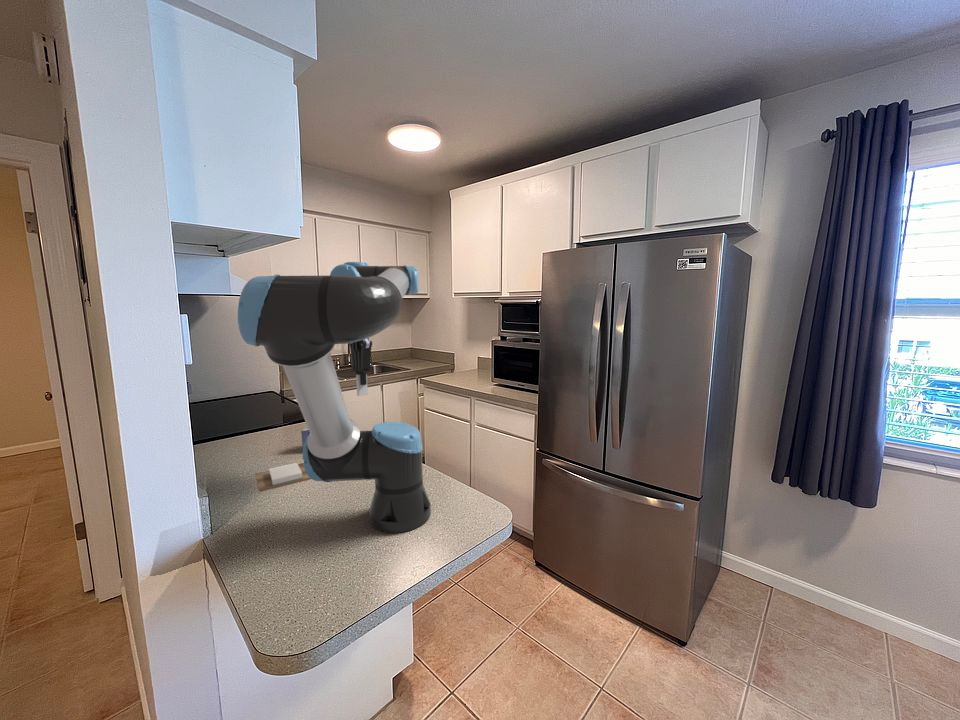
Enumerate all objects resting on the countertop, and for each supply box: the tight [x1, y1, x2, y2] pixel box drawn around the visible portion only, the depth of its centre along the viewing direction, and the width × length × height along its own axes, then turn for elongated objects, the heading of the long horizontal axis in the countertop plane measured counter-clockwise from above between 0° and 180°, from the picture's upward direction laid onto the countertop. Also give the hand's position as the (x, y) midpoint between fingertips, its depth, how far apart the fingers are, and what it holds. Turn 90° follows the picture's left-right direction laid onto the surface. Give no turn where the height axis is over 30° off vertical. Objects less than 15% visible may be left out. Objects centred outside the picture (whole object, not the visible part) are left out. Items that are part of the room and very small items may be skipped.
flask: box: [300, 427, 310, 447], centre depth 139 cm, size 9×3×11 cm, turn 146°
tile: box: [268, 462, 303, 485], centre depth 118 cm, size 2×8×9 cm
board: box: [255, 462, 312, 493], centre depth 118 cm, size 14×15×1 cm
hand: (362, 395), depth 116 cm, fingers closed
